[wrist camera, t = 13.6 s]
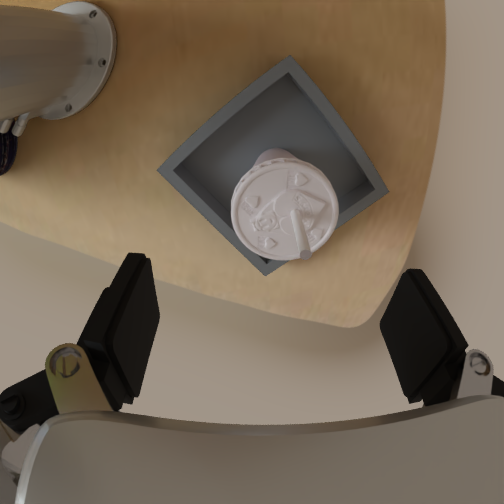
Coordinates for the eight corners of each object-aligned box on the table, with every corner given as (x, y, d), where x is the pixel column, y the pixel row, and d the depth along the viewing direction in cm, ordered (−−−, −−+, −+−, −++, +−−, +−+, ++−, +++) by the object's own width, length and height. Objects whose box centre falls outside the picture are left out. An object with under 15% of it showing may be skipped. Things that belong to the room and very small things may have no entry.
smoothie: (320, 189, 26) (370, 289, 14) (254, 210, 27) (251, 322, 15) (299, 123, 22) (347, 170, 11) (228, 147, 24) (196, 219, 12)
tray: (264, 258, 31) (265, 276, 28) (166, 160, 25) (156, 170, 23) (377, 180, 25) (389, 191, 23) (286, 58, 20) (289, 54, 17)
